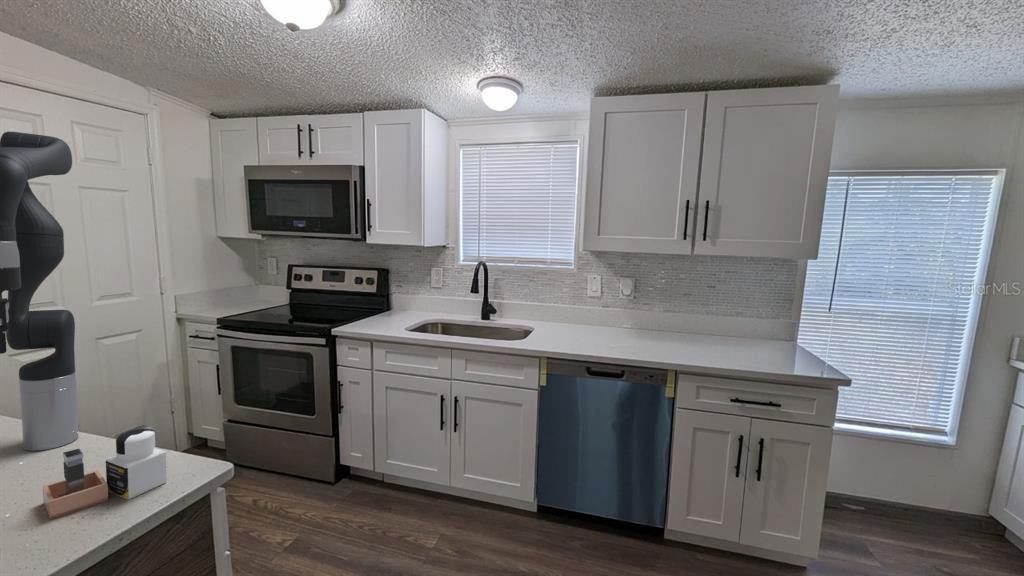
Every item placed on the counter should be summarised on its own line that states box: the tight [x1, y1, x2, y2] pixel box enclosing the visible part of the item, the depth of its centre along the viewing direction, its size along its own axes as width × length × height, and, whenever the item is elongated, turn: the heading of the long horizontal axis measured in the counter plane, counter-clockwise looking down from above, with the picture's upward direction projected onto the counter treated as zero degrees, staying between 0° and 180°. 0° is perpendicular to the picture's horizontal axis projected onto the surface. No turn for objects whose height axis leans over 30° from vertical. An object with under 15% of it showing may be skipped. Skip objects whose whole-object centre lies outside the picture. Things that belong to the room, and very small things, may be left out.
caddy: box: [42, 469, 109, 521], centre depth 82 cm, size 8×8×4 cm
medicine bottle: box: [105, 428, 168, 501], centre depth 88 cm, size 7×7×12 cm
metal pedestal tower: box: [58, 448, 88, 498], centre depth 82 cm, size 4×4×10 cm
